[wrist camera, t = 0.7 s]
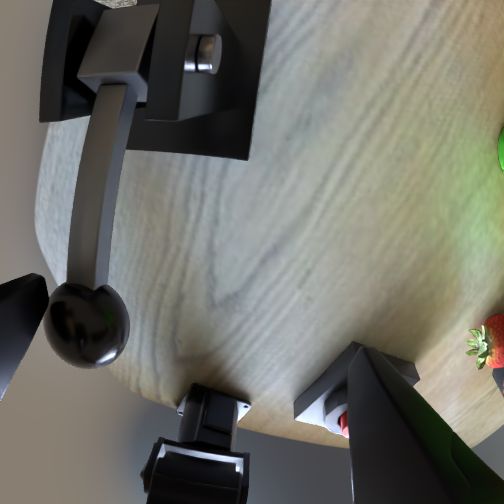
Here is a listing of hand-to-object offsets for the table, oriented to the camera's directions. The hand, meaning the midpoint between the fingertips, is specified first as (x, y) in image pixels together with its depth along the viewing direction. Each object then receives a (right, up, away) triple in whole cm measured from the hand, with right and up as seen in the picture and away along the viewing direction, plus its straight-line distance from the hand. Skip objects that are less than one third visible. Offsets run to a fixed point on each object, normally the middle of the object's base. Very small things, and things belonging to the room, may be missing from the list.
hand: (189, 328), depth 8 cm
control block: (+12, -11, +20) cm, 26 cm away
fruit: (+29, -5, +12) cm, 32 cm away
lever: (-3, +4, +2) cm, 6 cm away
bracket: (-2, +13, +9) cm, 15 cm away
